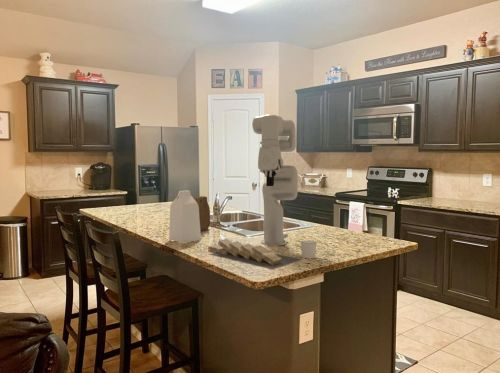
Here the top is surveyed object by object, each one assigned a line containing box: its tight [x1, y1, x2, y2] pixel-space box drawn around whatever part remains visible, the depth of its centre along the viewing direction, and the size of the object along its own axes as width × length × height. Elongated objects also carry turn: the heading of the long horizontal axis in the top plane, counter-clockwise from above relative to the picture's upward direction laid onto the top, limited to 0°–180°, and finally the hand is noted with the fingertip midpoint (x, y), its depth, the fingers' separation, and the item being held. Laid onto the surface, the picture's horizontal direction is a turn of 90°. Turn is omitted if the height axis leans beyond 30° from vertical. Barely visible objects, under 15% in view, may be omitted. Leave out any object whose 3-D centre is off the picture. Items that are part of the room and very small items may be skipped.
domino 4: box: [251, 244, 281, 265], centre depth 169 cm, size 2×5×12 cm
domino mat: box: [209, 252, 303, 270], centre depth 177 cm, size 20×36×1 cm, turn 48°
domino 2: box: [229, 240, 253, 260], centre depth 178 cm, size 2×5×12 cm
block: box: [193, 195, 211, 232], centre depth 243 cm, size 11×8×20 cm
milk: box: [168, 190, 202, 244], centre depth 214 cm, size 12×12×26 cm
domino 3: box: [240, 243, 265, 263], centre depth 173 cm, size 2×5×12 cm
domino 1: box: [217, 238, 242, 257], centre depth 182 cm, size 2×5×12 cm
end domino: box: [207, 244, 231, 255], centre depth 187 cm, size 2×5×12 cm
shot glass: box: [300, 240, 317, 259], centre depth 178 cm, size 7×7×7 cm
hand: (270, 185), depth 179 cm, fingers closed
